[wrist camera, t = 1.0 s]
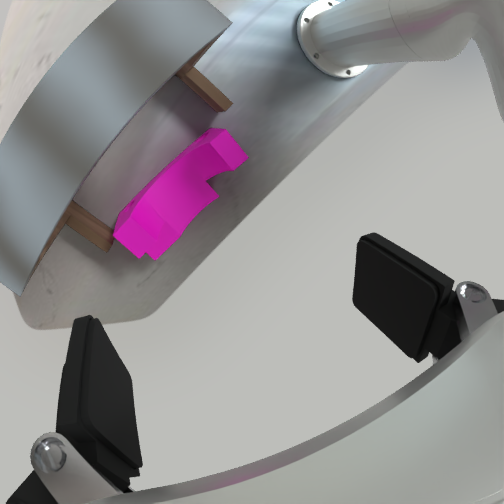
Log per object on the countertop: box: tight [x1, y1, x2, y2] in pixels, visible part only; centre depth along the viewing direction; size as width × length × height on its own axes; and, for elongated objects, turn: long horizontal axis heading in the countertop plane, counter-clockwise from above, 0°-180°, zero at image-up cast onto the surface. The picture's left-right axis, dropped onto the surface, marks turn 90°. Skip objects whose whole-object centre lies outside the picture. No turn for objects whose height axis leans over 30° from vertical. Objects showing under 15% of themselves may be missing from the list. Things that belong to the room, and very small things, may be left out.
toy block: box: [113, 128, 249, 260], centre depth 31 cm, size 15×6×8 cm, turn 127°
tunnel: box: [0, 0, 233, 296], centre depth 21 cm, size 21×12×18 cm, turn 134°
